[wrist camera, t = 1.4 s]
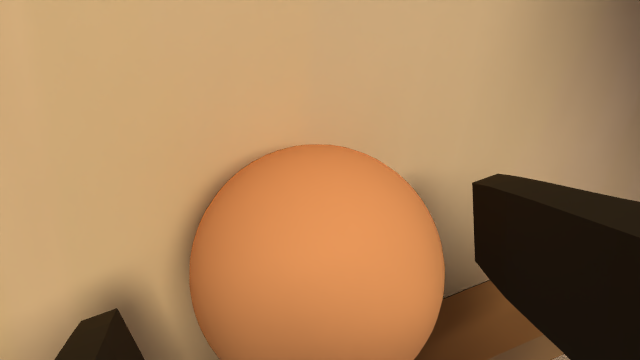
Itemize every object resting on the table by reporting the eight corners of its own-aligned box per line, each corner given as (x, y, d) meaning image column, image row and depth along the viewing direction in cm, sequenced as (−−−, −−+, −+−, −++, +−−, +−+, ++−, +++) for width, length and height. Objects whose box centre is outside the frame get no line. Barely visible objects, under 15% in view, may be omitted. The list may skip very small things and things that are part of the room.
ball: (363, 89, 11) (504, 168, 6) (388, 256, 13) (503, 398, 9) (151, 151, 10) (143, 293, 5) (218, 319, 12) (251, 514, 8)
